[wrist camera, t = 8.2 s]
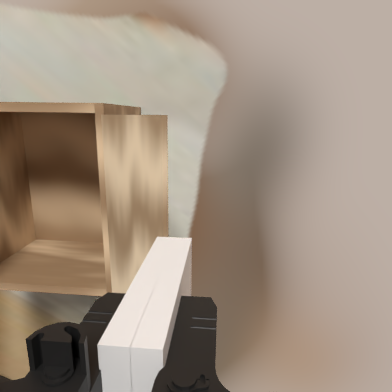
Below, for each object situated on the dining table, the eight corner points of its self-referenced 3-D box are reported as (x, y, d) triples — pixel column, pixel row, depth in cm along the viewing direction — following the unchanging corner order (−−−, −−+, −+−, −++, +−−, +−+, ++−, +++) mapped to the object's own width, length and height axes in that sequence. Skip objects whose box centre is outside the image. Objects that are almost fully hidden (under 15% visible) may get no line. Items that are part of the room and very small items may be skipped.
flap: (116, 289, 23) (168, 321, 19) (111, 292, 22) (164, 324, 19) (106, 114, 20) (167, 115, 16) (101, 114, 19) (161, 115, 16)
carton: (144, 248, 32) (114, 297, 23) (34, 242, 33) (-34, 287, 24) (140, 107, 28) (103, 103, 20) (17, 106, 29) (-70, 101, 21)
